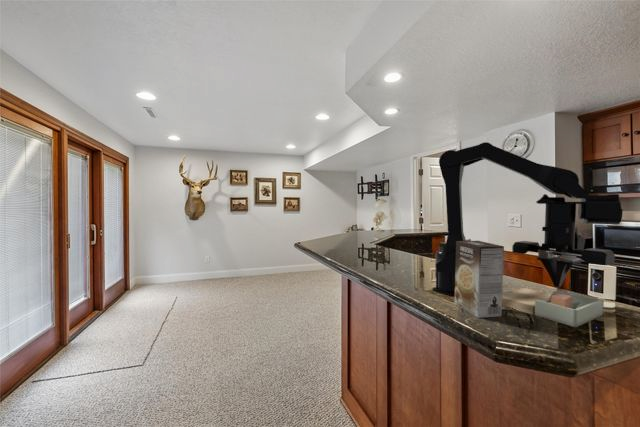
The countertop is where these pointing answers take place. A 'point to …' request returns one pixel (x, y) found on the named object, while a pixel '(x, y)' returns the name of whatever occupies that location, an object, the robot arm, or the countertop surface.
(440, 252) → the supplement bottle
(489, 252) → the coffee box
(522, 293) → the deck
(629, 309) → the countertop surface
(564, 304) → the tile terracotta
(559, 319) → the tray
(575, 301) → the tile slate
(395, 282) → the countertop surface
